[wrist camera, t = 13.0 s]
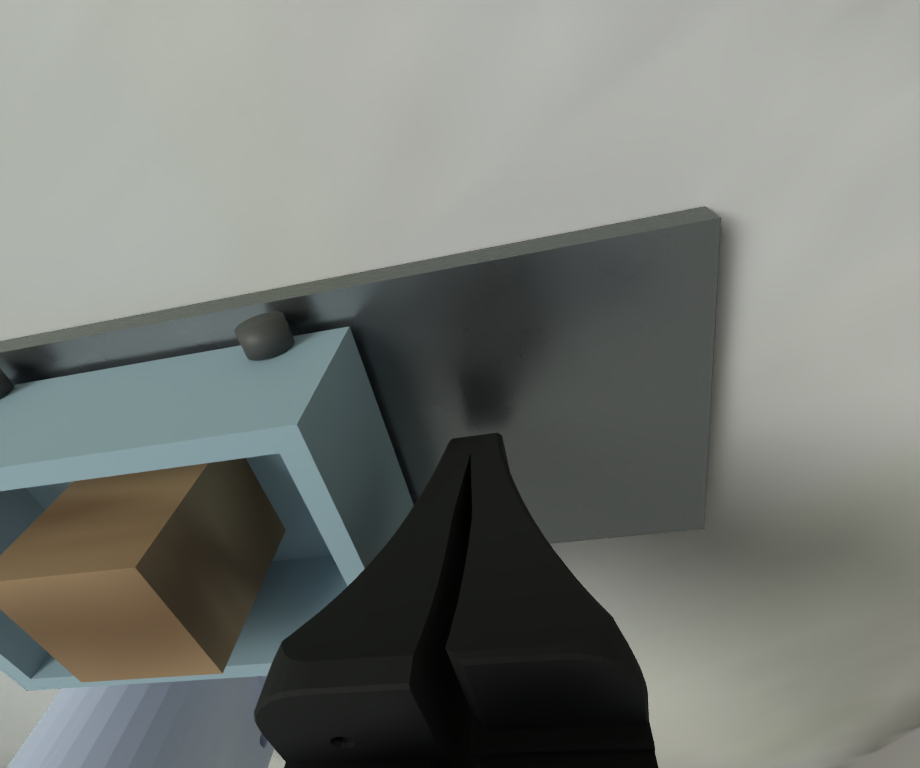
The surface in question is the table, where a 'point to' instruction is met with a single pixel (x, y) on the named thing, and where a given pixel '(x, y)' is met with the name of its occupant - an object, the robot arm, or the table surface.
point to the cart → (212, 440)
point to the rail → (501, 362)
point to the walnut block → (144, 571)
